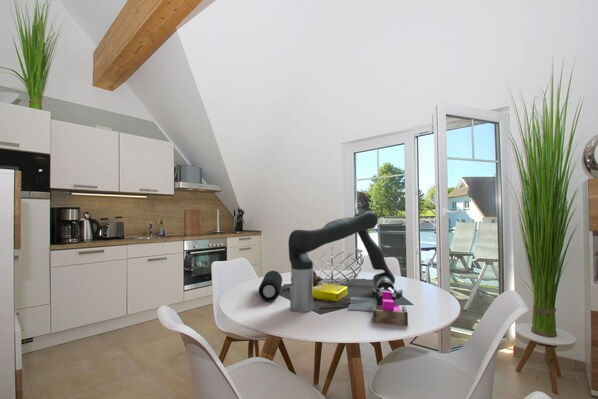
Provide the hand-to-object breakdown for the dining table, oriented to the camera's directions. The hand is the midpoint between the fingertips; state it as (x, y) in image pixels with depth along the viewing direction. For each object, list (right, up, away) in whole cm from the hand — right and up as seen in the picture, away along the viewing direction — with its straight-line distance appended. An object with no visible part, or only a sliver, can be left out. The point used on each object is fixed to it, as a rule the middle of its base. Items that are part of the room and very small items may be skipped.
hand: (387, 298), depth 116 cm
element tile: (-21, -8, +26) cm, 34 cm away
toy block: (+1, -6, -2) cm, 7 cm away
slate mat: (-7, -7, +12) cm, 16 cm away
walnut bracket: (-1, -6, -7) cm, 9 cm away
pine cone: (-31, -8, +41) cm, 52 cm away
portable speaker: (-49, -8, +28) cm, 57 cm away
